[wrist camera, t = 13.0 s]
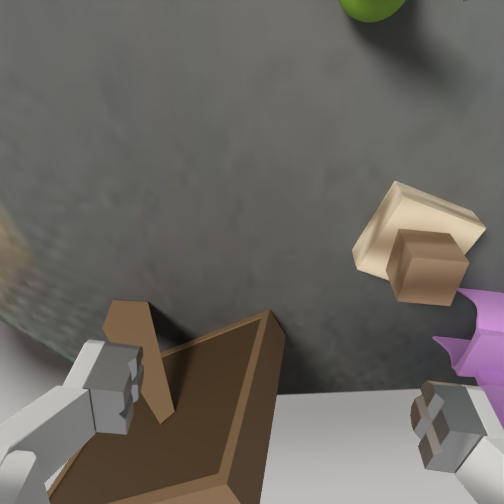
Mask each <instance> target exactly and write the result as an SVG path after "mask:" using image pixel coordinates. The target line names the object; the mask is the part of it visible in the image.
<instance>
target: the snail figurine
mask: <svg viewBox="0 0 504 504" xmlns="http://www.w3.org/2000/svg"><path fill="white" fill-rule="evenodd" d="M463 1H467V0H463ZM339 2H340V4H341V6H342V8H343V9H344V10H345V12H346V13H347V14H348V15H349V16H351V17H352V18H354V19H356V20H358V21H362V22H377V21H381V20H383V19H385V18H387V17H389V16H391V15H392V14H394V13H395V12H396V11H397V10H398V9H399V8H400V7H401V6H402V5H403V3H404V2H405V0H339Z"/></svg>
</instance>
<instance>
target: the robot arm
mask: <svg viewBox="0 0 504 504" xmlns="http://www.w3.org/2000/svg"><path fill="white" fill-rule="evenodd" d="M142 358H143V347H141V346H134V345H127V344H120V343H113V342H105V341H98V340H91V339H89V340H88V341H87V342H86V343H85V344H84V346H83V348H82V350H81V351H80V353H79V355H78V357H77V359H76V361H75V363H74V365H73V367H72V369H71V371H70V372H69V374H68V376H67V378H66V380H65V382H64V384H63V386H56V387H54V388H53V389H51V390H50V391H48V392H47V393H45V394H44V395H42V396H41V397H39V398H38V399H37V400H35V401H34V402H32V403H31V404H29V405H28V406H26V407H25V408H23V409H22V410H20V411H19V412H17V413H16V414H14V415H13V416H11V417H10V418H8V419H7V420H5V421H4V422H2V423H1V424H0V504H50V501H49V498H48V494H47V491H46V488H45V484H44V483H45V482H46V481H47V480H48V479H49V478H50V477H51V476H52V475H53V474H54V473H55V472H56V471H57V470H58V469H59V468H60V467H61V466H62V465H64V463H66V462H67V461H68V459H70V458H71V457H72V456H73V455H74V454H75V453H76V452H77V451H78V450H79V449H80V448H81V447H82V446H83V445H84V444H85V443H86V442H87V441H88V440H89V439H91V438H92V437H93V436H94V435H95V432H102V433H114V434H125V435H127V432H128V429H129V426H130V423H131V420H132V417H133V414H134V408H133V403H134V402H135V401H137V400H138V399H139V395H140V392H141V388H142V383H143V377H144V366H143V365H142V364H141V361H142ZM420 389H421V392H422V395H421V396H419V397H417V398H415V400H414V402H413V404H412V406H411V415H410V416H411V423H412V427H413V431H414V432H415V433H416V434H417V435H418V436H419V438H420V439H421V441H420V443H419V446H418V447H419V451H420V454H421V457H422V460H423V464H424V467H425V469H428V470H435V471H442V472H449V473H456V474H455V476H456V477H457V478H458V479H459V481H460V482H461V483H462V484H463V485H464V487H465V488H466V489H467V491H468V492H469V493H470V494H471V495H472V497H473V498H474V499H475V501H476V502H477V503H478V504H504V429H503V428H502V426H501V424H500V422H499V420H498V418H497V416H496V414H495V412H494V410H493V408H492V406H491V404H490V402H489V400H488V398H487V396H486V394H485V392H484V390H483V389H482V388H481V387H478V386H470V385H460V384H454V383H445V382H436V381H426V382H424V383H423V385H422V387H421V388H420Z"/></svg>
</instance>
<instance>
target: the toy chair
mask: <svg viewBox="0 0 504 504" xmlns="http://www.w3.org/2000/svg"><path fill="white" fill-rule="evenodd" d="M457 291H458V292H460V293H462V294H463V295H465V296H466V297H468V298H469V299H470V300H472V301H473V302H474V304H475V305H476V307H477V319H476V330H475V333H474V336H473V338H472V340H465V339H456V338H448V337H439V336H433V337H432V338H433V339H434V340H435V341H436V342H438V343H439V344H440V345H441V346H443V347H444V348H445V349H446V350H447V352H448V353H449V355H450V357H451V366H452V369H455V371H456V374H457V376H465V377H475V378H476V381H477V384H478V386H479V387H481V388H482V389H483V390H484V392H485V394H486V396H487V398H488V400H489V402H490V404H491V406H492V408H493V410H494V412H495V414H496V416H497V418H498V420H499V422H500V424H501V426H502V428H503V429H504V293H499V292H491V291H482V290H474V289H465V288H458V289H457Z"/></svg>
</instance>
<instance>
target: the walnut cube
mask: <svg viewBox="0 0 504 504" xmlns="http://www.w3.org/2000/svg"><path fill="white" fill-rule="evenodd" d="M468 265H469V261H468V260H467V258H466V257H465V255H464V254H463V252H462V251H461V249H460V248H459V246H458V245H457V243H456V242H455V240H454V239H453V237H452V236H451V234H450V233H440V232H430V231H419V230H408V229H398V232H397V235H396V238H395V242H394V245H393V248H392V251H391V254H390V257H389V260H388V264H387V267H386V273H387V275H388V278H389V281H390V284H391V286H392V289H393V292H394V295H395V297H396V300H397V301H400V302H411V303H421V304H432V305H443V306H450V305H451V303H452V301H453V298H454V296H455V294H456V292H457V289H458V287H459V285H460V283H461V281H462V278H463V276H464V274H465V272H466V269H467V267H468Z"/></svg>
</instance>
